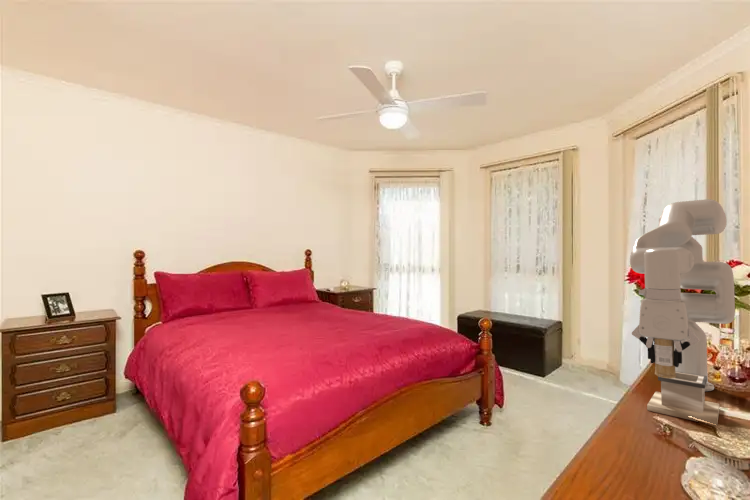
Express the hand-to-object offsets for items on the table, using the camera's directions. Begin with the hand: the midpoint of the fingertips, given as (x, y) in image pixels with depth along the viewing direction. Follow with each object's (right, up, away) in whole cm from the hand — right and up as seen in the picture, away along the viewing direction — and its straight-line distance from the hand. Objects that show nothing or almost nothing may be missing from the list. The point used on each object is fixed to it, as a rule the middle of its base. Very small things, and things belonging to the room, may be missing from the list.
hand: (664, 363), depth 100 cm
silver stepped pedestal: (+13, -16, +9) cm, 23 cm away
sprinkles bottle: (0, -4, 0) cm, 4 cm away
